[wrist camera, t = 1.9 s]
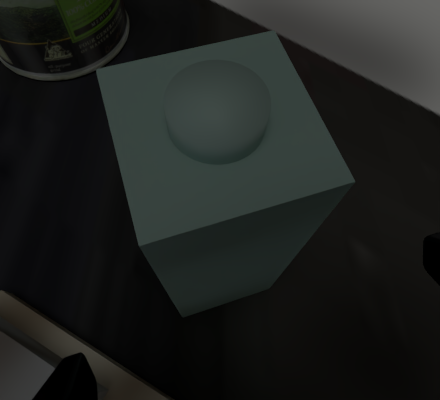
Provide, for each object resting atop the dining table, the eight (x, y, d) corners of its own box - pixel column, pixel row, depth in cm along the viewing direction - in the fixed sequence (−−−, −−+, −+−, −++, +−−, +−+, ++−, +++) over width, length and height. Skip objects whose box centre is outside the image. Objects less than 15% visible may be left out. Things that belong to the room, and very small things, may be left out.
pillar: (269, 288, 20) (369, 164, 7) (182, 317, 19) (131, 233, 7) (239, 209, 22) (279, 4, 9) (159, 233, 21) (85, 44, 9)
